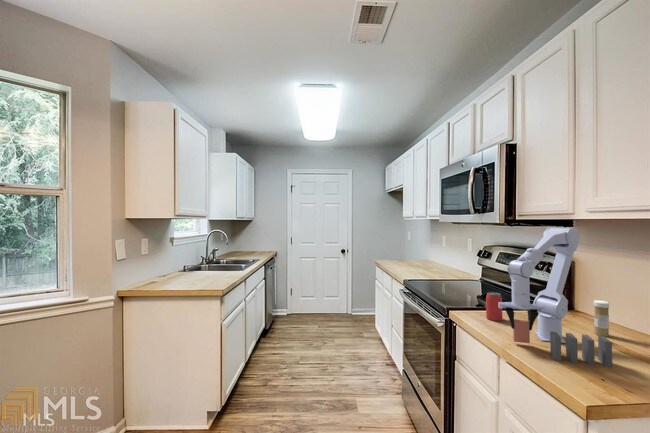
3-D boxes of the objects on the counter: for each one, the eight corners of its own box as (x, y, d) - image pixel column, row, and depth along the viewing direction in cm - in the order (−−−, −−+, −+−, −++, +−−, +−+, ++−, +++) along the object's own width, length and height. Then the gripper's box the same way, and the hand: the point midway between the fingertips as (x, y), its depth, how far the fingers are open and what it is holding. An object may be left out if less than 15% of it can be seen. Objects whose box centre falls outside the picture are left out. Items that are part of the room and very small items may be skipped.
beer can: (499, 322, 140) (498, 296, 140) (484, 319, 145) (483, 293, 145) (504, 319, 144) (504, 293, 144) (489, 315, 149) (489, 290, 149)
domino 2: (571, 362, 102) (571, 338, 102) (566, 355, 107) (565, 332, 107) (577, 363, 102) (577, 339, 102) (571, 356, 106) (571, 333, 106)
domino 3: (588, 364, 101) (588, 340, 101) (582, 357, 105) (581, 334, 105) (594, 365, 100) (594, 340, 100) (587, 358, 105) (587, 334, 105)
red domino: (513, 340, 118) (512, 319, 118) (528, 341, 116) (528, 320, 116) (514, 341, 117) (513, 320, 116) (529, 343, 115) (529, 321, 115)
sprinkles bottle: (594, 331, 127) (594, 299, 127) (609, 334, 124) (609, 301, 124) (593, 335, 124) (593, 301, 124) (609, 338, 121) (609, 303, 120)
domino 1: (555, 360, 104) (555, 336, 104) (550, 354, 109) (550, 331, 108) (561, 361, 103) (560, 337, 103) (555, 354, 108) (555, 331, 108)
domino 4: (605, 366, 99) (605, 341, 99) (598, 359, 104) (598, 336, 104) (612, 367, 99) (611, 342, 98) (604, 360, 103) (604, 336, 103)
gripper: (500, 293, 115) (501, 330, 115) (546, 296, 110) (547, 334, 110) (497, 289, 122) (497, 323, 122) (540, 291, 116) (541, 327, 117)
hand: (521, 328), depth 116 cm, fingers closed on red domino, 5 cm apart
